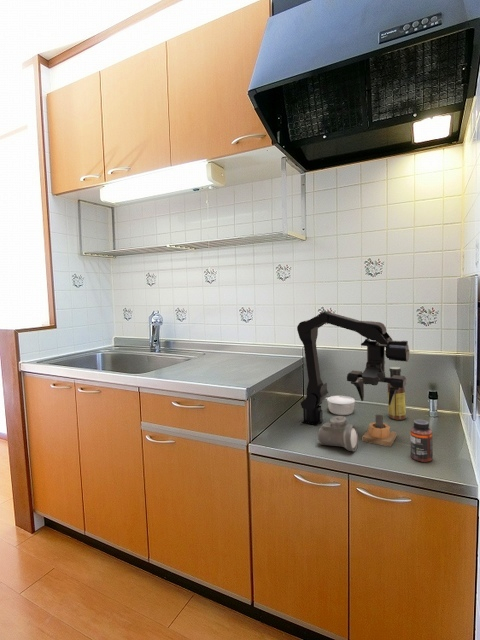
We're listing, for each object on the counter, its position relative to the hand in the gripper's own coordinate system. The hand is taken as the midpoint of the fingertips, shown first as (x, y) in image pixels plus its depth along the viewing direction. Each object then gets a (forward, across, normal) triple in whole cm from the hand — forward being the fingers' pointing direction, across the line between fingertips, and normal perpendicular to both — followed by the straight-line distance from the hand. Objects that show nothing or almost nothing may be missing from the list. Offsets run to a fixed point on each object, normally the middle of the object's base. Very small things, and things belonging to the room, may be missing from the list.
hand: (375, 402), depth 127 cm
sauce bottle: (+11, +3, +19) cm, 22 cm away
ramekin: (+12, -18, +16) cm, 27 cm away
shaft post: (+11, +2, -4) cm, 12 cm away
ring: (+10, +2, -4) cm, 11 cm away
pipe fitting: (+12, -8, -17) cm, 22 cm away
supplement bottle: (+11, +16, -12) cm, 23 cm away
